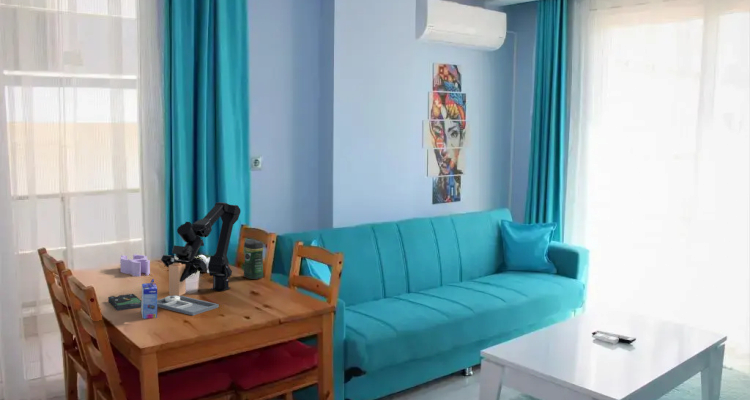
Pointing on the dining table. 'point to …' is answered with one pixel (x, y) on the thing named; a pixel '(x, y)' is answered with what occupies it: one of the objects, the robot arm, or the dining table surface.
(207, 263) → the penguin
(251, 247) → the coffee jar
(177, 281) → the block
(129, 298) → the disk drive
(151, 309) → the ink cartridge box
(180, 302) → the grey rectangular tray
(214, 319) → the dining table surface
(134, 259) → the clip
